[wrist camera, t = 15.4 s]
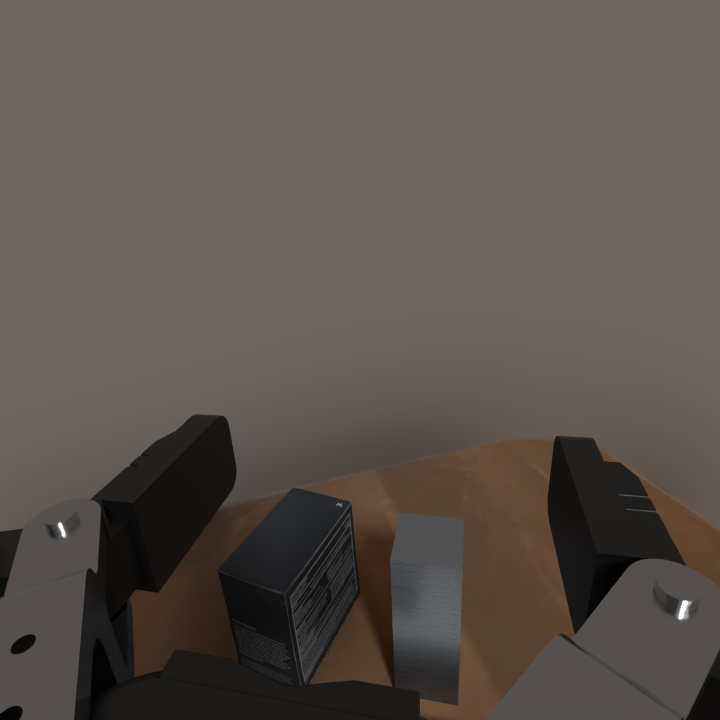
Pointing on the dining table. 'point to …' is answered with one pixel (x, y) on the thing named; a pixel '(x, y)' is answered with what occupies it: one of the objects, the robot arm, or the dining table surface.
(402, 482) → the dining table surface
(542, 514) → the dining table surface
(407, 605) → the brushed metal pillar
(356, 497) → the dining table surface
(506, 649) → the dining table surface
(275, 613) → the small box
